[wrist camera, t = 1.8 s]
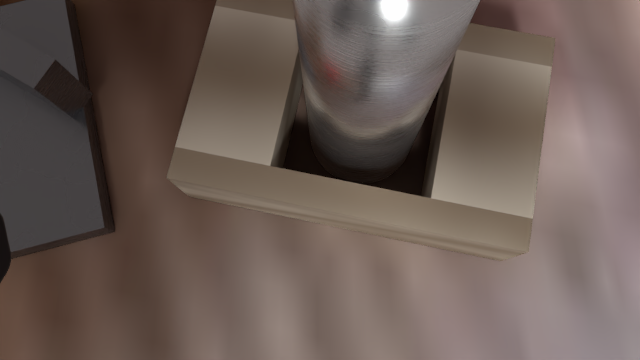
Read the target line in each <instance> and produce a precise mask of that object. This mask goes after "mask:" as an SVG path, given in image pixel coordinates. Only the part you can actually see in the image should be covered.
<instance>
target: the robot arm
mask: <svg viewBox="0 0 640 360" xmlns="http://www.w3.org/2000/svg"><path fill="white" fill-rule="evenodd" d="M10 262H11V251H10V246H9V242H8V237H7V232H6V227H5V223H4V219H3V216H2V215H1V213H0V283H1V281H2V279H3V278H4V276H5V275H6V273H7V271H8V269H9V266H10Z"/></svg>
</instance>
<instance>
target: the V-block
mask: <svg viewBox="0 0 640 360" xmlns="http://www.w3.org/2000/svg"><path fill="white" fill-rule="evenodd" d="M92 95H93V93H91V92H90V89H89V83H88V78H87V72H86V67H85V61H84V55H83V50H82V44H81V38H80V33H79V27H78V22H77V16H76V10H75V5H74V3H73V2H72V1H71V0H24V1H20V2H16V3H12V4H8V5H4V6H0V213H1V215H2V216H3V219H4V223H5V227H6V232H7V237H8V242H9V246H10V251H11V259H13V258H17V257H20V256H24V255H28V254H32V253H36V252H39V251H43V250H47V249H51V248H55V247H58V246H62V245H66V244H70V243H74V242H77V241H81V240H85V239H89V238H92V237H96V236H100V235H104V234H108V233H111V232H115V229H114V224H113V218H112V212H111V207H110V201H109V196H108V190H107V184H106V179H105V173H104V168H103V162H102V156H101V151H100V145H99V139H98V134H97V128H96V123H95V117H94V111H93V106H92V100H91V96H92Z"/></svg>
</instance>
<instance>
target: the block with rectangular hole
mask: <svg viewBox="0 0 640 360" xmlns="http://www.w3.org/2000/svg"><path fill="white" fill-rule="evenodd" d="M554 46H555V38H552V37H546V36H541V35H535V34H529V33H524V32H518V31H512V30H507V29H501V28H496V27H490V26H484V25H479V24H473V23H469V25H468V27H467V30H466V32H465V34H464V36H463V38H462V40H461V42H460V45H459V47H458V49H457V51H456V53H455V55H454V57H453V60H452V62H451V64H450V66H449V68H448V70H447V72H446V75H445V77H444V79H443V81H442V83H441V85H440V88H439V94H438V100H437V105H436V111H435V117H434V123H433V128H432V134H431V140H430V146H429V151H428V157H427V163H426V168H425V174H424V180H423V186H422V191H421V196H417V195H412V194H407V193H402V192H397V191H392V190H388V189H383V188H378V187H373V186H368V185H363V184H358V183H353V182H348V181H343V180H338V179H333V178H328V177H323V176H318V175H313V174H308V173H303V172H298V171H293V170H288V169H283V166H284V161H285V157H286V153H287V149H288V144H289V140H290V136H291V132H292V127H293V123H294V119H295V115H296V111H297V106H298V102H299V98H300V94H301V89H302V85H303V79H302V71H301V63H300V55H299V48H298V40H297V32H296V25H295V17H294V9H293V2H292V0H217V1H216V5H215V8H214V12H213V15H212V19H211V22H210V26H209V29H208V33H207V36H206V40H205V43H204V47H203V50H202V54H201V57H200V61H199V64H198V68H197V71H196V75H195V78H194V82H193V85H192V89H191V92H190V96H189V99H188V103H187V107H186V110H185V114H184V117H183V121H182V124H181V128H180V131H179V135H178V138H177V142H176V145H175V149H174V152H173V156H172V159H171V163H170V166H169V170H168V173H167V177H166V178H167V179H168V180H170V181H171V182H172V183H173V184H174V185H176V186H177V187H178V188H179V189H180V190H182V191H183V192H184V193H185V194H187V195H188V196H189V197H194V198H199V199H204V200H208V201H213V202H218V203H223V204H228V205H233V206H237V207H242V208H247V209H252V210H257V211H262V212H266V213H271V214H276V215H281V216H286V217H290V218H295V219H300V220H305V221H310V222H315V223H319V224H324V225H329V226H334V227H339V228H344V229H348V230H353V231H358V232H363V233H368V234H372V235H377V236H382V237H387V238H392V239H397V240H401V241H406V242H411V243H416V244H421V245H426V246H430V247H435V248H440V249H445V250H450V251H454V252H459V253H464V254H469V255H474V256H479V257H483V258H488V259H493V260H498V261H503V260H506V259H509V258H512V257H515V256H518V255H521V254H524V253H528V252H529V244H530V236H531V228H532V220H533V212H534V204H535V196H536V188H537V180H538V173H539V165H540V157H541V149H542V141H543V133H544V125H545V117H546V109H547V101H548V93H549V85H550V77H551V70H552V62H553V54H554Z"/></svg>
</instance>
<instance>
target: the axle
mask: <svg viewBox="0 0 640 360" xmlns="http://www.w3.org/2000/svg"><path fill="white" fill-rule="evenodd" d="M292 2H293V9H294V17H295V25H296V32H297V40H298V48H299V55H300V63H301V71H302V79H303V86H304V94H305V102H306V109H307V117H308V125H309V132H310V140H311V146H312V149H313V152H314V154H315V157H316V158H317V160H318V162H319V163H320V164H321V165H322V167H323V168H324V169H325V170H326V171H328V172H329V173H330V174H332V175H333V176H335V177H337V178H338V179H341V180H343V181H348V182H353V183H358V184H367V183H373V182H377V181H380V180H382V179H385V178H387V177H388V176H390V175H391V174H393V173H394V172H395V171H397V169H398V168H399V167H400V166H401V165H402V164H403V162H404V161H405V159H406V158H407V156H408V154H409V152H410V149H411V147H412V145H413V143H414V141H415V139H416V137H417V134H418V132H419V130H420V128H421V126H422V124H423V122H424V119H425V117H426V115H427V113H428V111H429V109H430V107H431V104H432V102H433V100H434V98H435V96H436V94H437V92H438V89H439V87H440V85H441V83H442V81H443V79H444V77H445V75H446V72H447V70H448V68H449V66H450V64H451V62H452V60H453V57H454V55H455V53H456V51H457V49H458V47H459V45H460V42H461V40H462V38H463V36H464V34H465V32H466V30H467V27H468V25H469V23H470V21H471V19H472V17H473V15H474V12H475V10H476V8H477V6H478V4H479V2H480V0H292Z"/></svg>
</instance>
